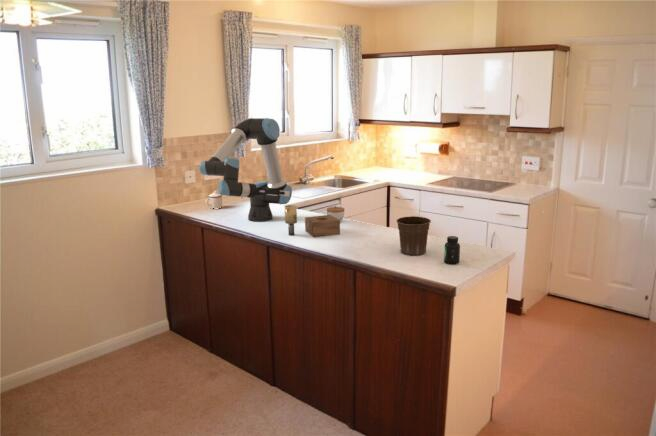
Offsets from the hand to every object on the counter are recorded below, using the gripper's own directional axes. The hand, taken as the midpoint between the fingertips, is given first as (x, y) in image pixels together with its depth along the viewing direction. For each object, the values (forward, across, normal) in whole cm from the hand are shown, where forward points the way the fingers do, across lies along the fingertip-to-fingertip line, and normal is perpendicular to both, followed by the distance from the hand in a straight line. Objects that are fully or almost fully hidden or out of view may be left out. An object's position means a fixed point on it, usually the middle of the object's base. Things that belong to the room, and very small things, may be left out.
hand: (283, 193), depth 294 cm
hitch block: (+22, +8, -20) cm, 31 cm away
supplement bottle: (+45, +86, -27) cm, 100 cm away
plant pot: (+40, +64, -24) cm, 79 cm away
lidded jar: (+42, -10, -14) cm, 46 cm away
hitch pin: (+7, +1, -22) cm, 23 cm away
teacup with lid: (-6, -89, -12) cm, 90 cm away
